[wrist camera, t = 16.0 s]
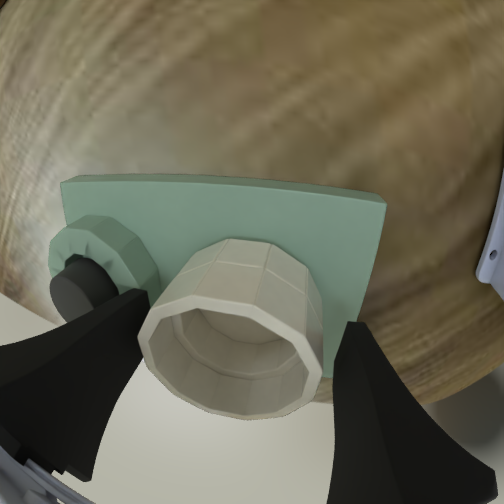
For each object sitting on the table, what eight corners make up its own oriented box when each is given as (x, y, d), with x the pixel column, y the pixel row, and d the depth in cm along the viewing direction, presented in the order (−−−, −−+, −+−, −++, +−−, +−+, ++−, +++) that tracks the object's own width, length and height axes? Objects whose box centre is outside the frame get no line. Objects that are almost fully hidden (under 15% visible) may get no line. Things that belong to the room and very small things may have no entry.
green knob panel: (378, 193, 10) (402, 219, 7) (334, 358, 14) (335, 403, 11) (72, 175, 12) (30, 192, 9) (102, 314, 16) (77, 343, 13)
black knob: (112, 261, 10) (87, 284, 9) (126, 318, 12) (107, 343, 10) (66, 252, 11) (41, 271, 9) (81, 305, 12) (61, 325, 10)
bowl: (307, 353, 12) (301, 428, 8) (191, 335, 13) (158, 398, 9) (331, 243, 9) (342, 316, 6) (180, 226, 10) (121, 281, 7)
